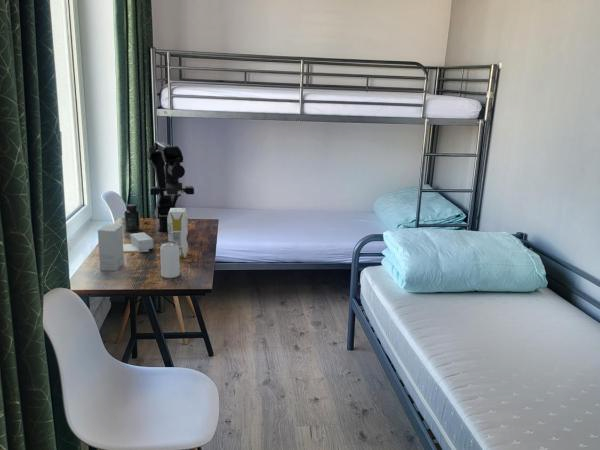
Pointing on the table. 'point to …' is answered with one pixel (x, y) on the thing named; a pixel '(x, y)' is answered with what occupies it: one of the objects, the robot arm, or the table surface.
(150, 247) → the skincare box
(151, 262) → the table surface
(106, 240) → the skincare box
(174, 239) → the juice carton
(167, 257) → the can
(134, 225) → the supplement bottle
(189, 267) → the table surface
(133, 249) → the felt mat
